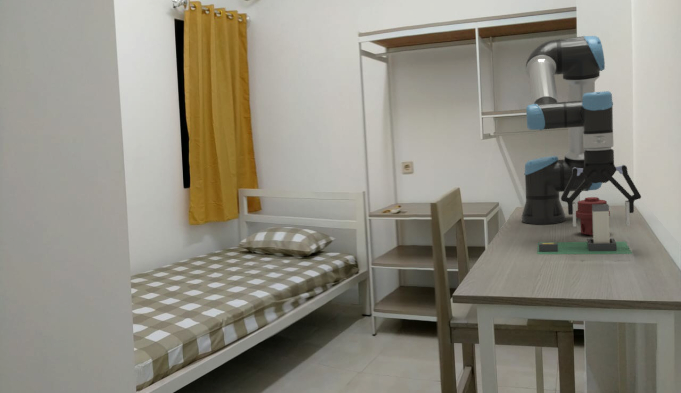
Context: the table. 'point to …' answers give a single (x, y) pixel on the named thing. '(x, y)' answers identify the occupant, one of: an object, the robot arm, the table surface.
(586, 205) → the mechanical component
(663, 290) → the table surface
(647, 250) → the table surface
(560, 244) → the board
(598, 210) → the plug
